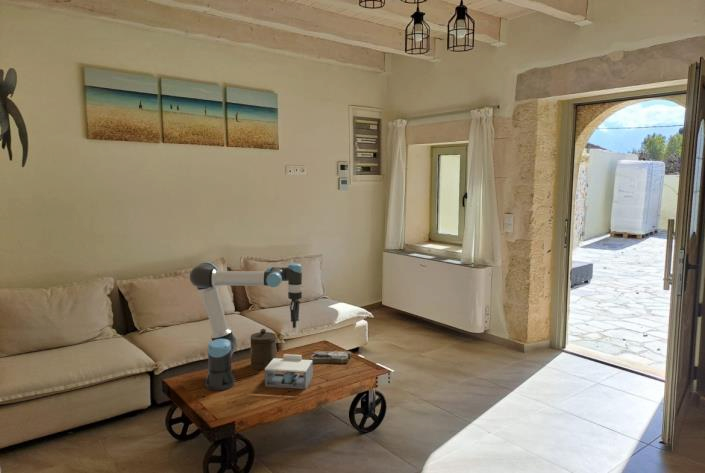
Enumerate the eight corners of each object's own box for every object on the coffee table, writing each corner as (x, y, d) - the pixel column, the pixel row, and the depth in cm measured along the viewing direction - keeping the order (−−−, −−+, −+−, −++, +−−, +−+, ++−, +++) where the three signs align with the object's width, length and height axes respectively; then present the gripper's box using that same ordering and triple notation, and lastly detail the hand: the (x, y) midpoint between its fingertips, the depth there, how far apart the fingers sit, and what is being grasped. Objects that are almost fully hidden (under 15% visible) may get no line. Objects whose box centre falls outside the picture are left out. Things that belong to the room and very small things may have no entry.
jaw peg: (281, 386, 250) (281, 375, 250) (284, 382, 255) (284, 371, 255) (291, 386, 250) (291, 375, 249) (293, 382, 255) (293, 372, 254)
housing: (265, 388, 250) (264, 370, 249) (274, 376, 266) (273, 359, 265) (305, 390, 247) (305, 373, 246) (312, 378, 263) (312, 361, 262)
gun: (349, 359, 282) (350, 350, 297) (308, 358, 284) (312, 349, 299) (349, 365, 283) (350, 356, 298) (308, 364, 285) (312, 355, 300)
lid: (264, 370, 249) (264, 363, 249) (273, 359, 265) (273, 353, 264) (305, 372, 246) (305, 366, 246) (312, 361, 262) (312, 355, 261)
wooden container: (261, 359, 292) (260, 324, 290) (281, 363, 286) (280, 327, 283) (245, 367, 279) (244, 330, 276) (266, 371, 272) (265, 334, 270)
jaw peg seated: (285, 380, 258) (285, 369, 257) (287, 376, 263) (287, 366, 262) (294, 380, 257) (294, 370, 256) (297, 377, 262) (297, 366, 262)
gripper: (298, 294, 258) (298, 336, 261) (304, 289, 271) (304, 329, 274) (285, 293, 259) (285, 335, 262) (291, 288, 272) (291, 328, 275)
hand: (294, 332), depth 268 cm, fingers closed
